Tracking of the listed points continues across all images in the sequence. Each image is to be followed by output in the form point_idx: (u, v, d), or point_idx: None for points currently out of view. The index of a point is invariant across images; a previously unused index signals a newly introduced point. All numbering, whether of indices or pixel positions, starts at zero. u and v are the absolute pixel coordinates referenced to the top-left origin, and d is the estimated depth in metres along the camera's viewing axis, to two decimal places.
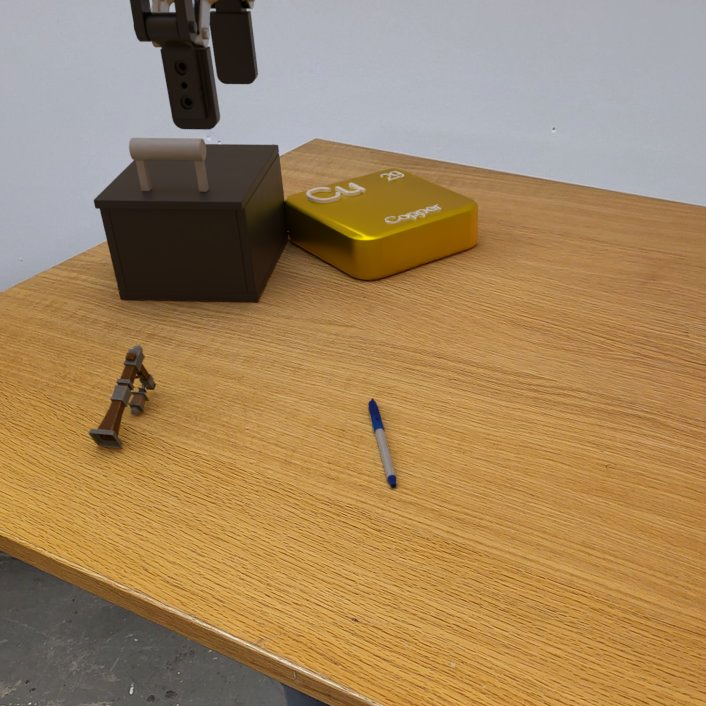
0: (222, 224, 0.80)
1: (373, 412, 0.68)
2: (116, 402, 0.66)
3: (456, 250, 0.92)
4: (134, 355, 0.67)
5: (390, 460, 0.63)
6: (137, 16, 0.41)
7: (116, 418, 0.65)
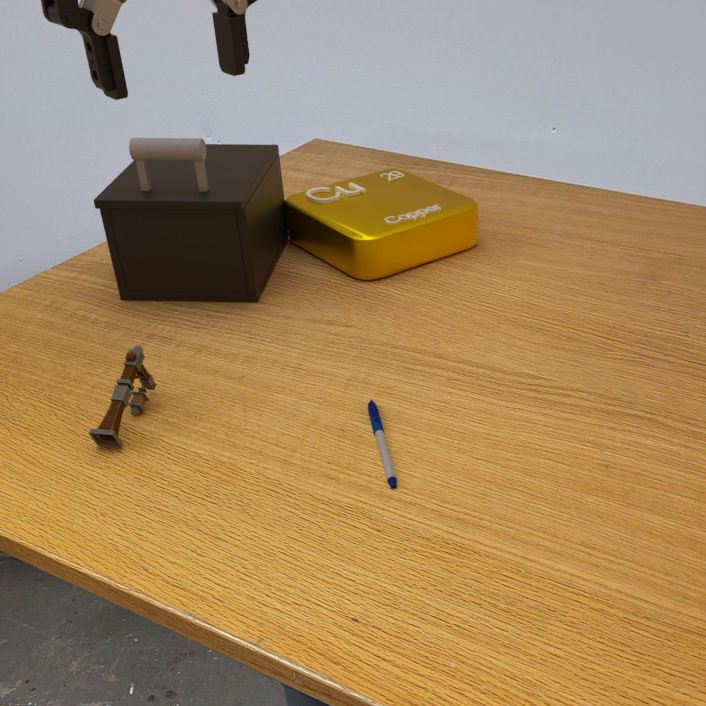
0: (222, 224, 0.80)
1: (372, 414, 0.68)
2: (116, 402, 0.66)
3: (456, 250, 0.92)
4: (134, 355, 0.67)
5: (390, 461, 0.63)
6: (43, 3, 0.55)
7: (116, 418, 0.65)
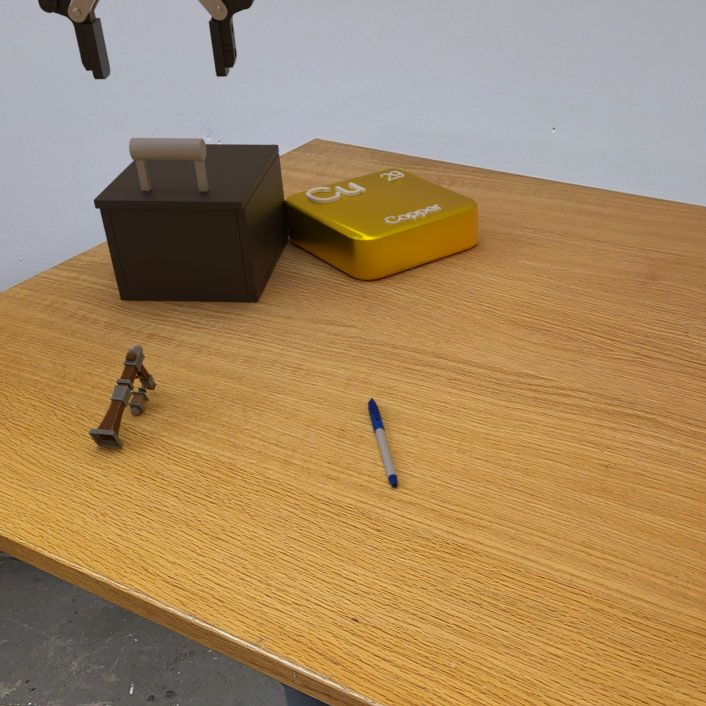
0: (222, 224, 0.80)
1: (373, 412, 0.68)
2: (116, 402, 0.66)
3: (456, 250, 0.92)
4: (134, 355, 0.67)
5: (390, 459, 0.63)
6: None
7: (116, 418, 0.65)
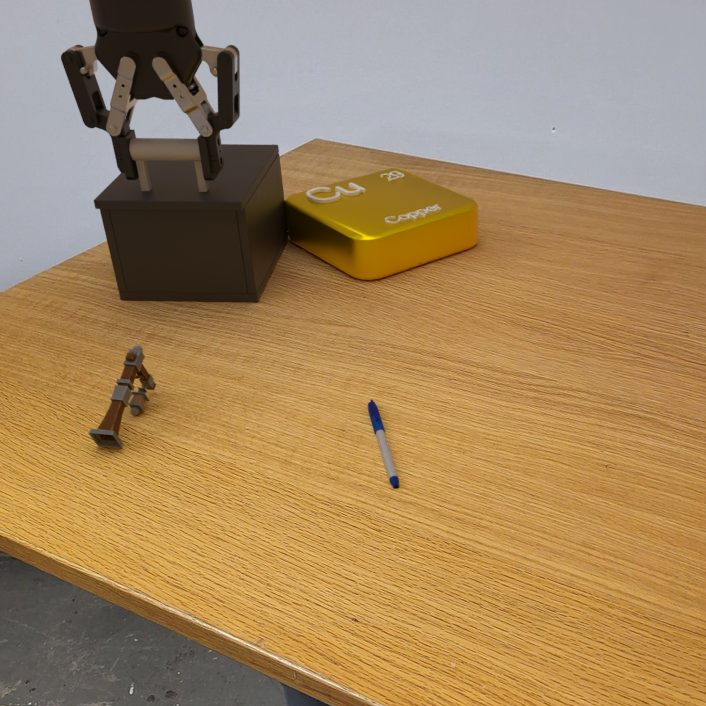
0: (222, 224, 0.80)
1: (373, 413, 0.68)
2: (116, 402, 0.66)
3: (456, 250, 0.92)
4: (134, 355, 0.67)
5: (391, 461, 0.63)
6: None
7: (116, 418, 0.65)
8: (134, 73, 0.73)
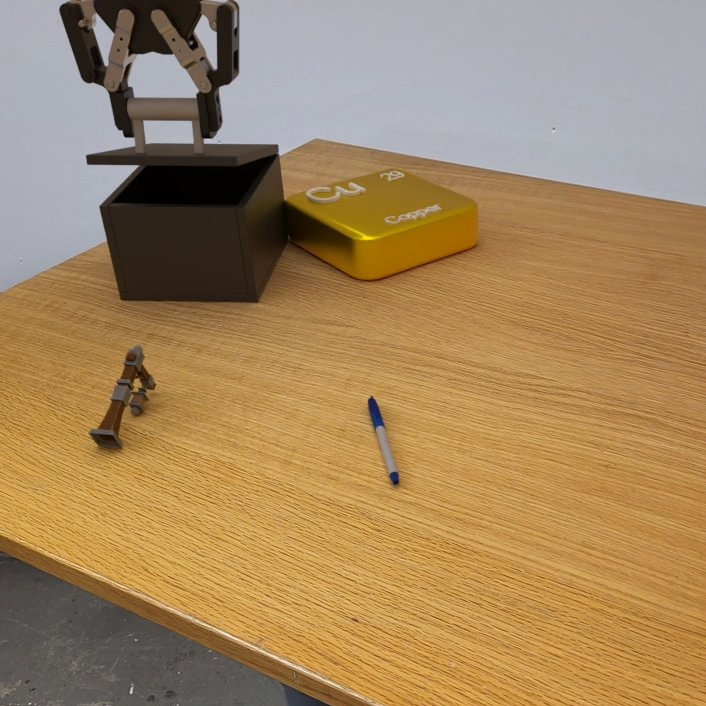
0: (222, 224, 0.80)
1: (373, 409, 0.68)
2: (116, 402, 0.66)
3: (456, 250, 0.92)
4: (134, 355, 0.67)
5: (392, 457, 0.63)
6: None
7: (116, 418, 0.65)
8: (133, 26, 0.72)
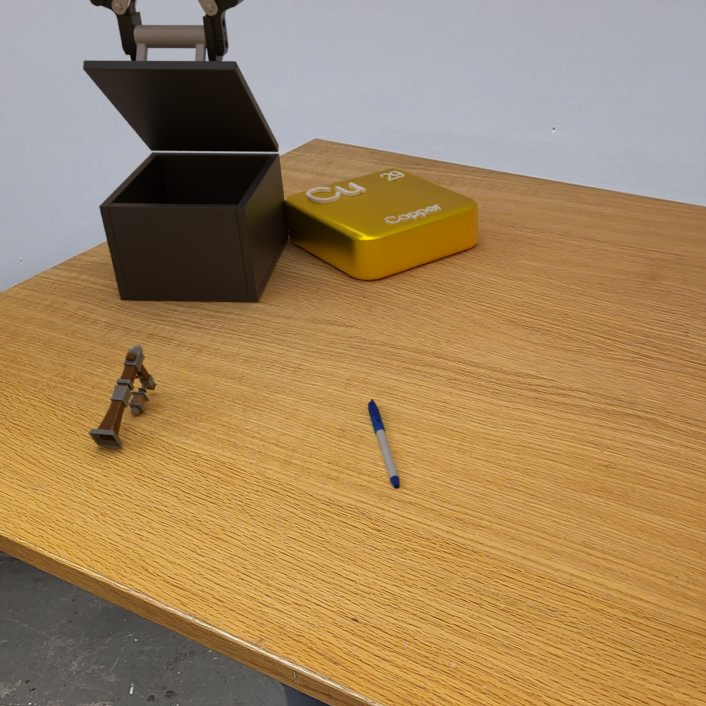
0: (222, 224, 0.80)
1: (373, 413, 0.68)
2: (116, 402, 0.66)
3: (456, 250, 0.92)
4: (134, 355, 0.67)
5: (392, 461, 0.63)
6: None
7: (116, 418, 0.65)
8: None
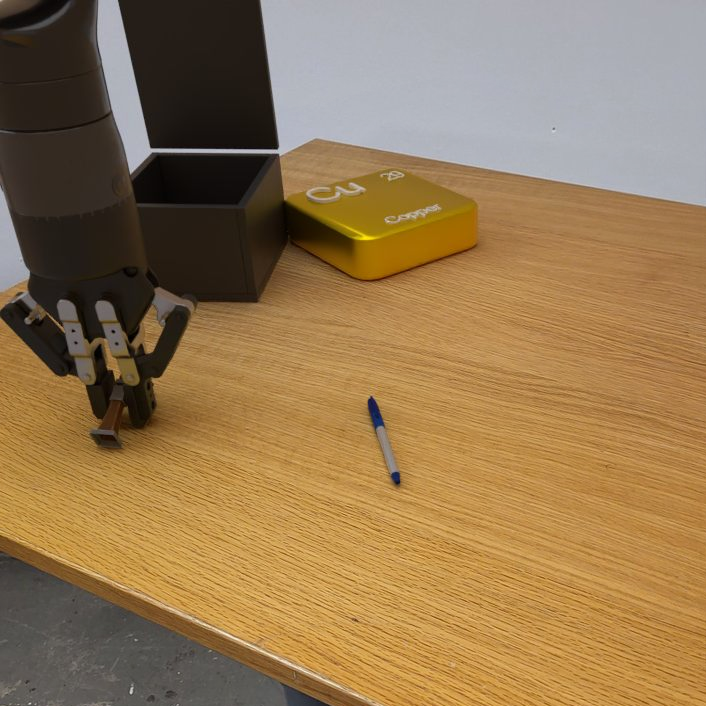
0: (222, 224, 0.80)
1: (373, 410, 0.68)
2: (116, 403, 0.66)
3: (456, 250, 0.92)
4: None
5: (393, 457, 0.63)
6: None
7: (116, 418, 0.65)
8: (78, 313, 0.61)
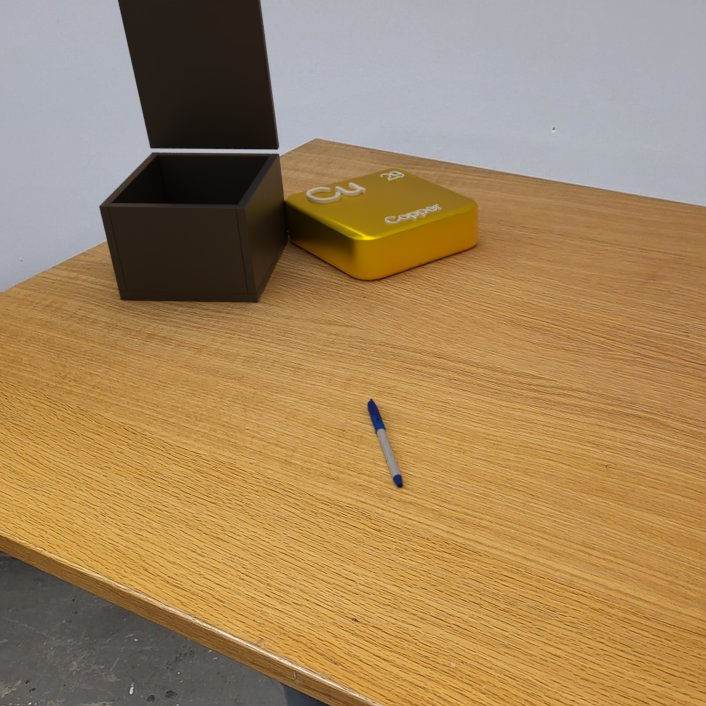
0: (222, 224, 0.80)
1: (373, 412, 0.68)
2: None
3: (456, 250, 0.92)
4: None
5: (394, 460, 0.63)
6: None
7: None
8: None
